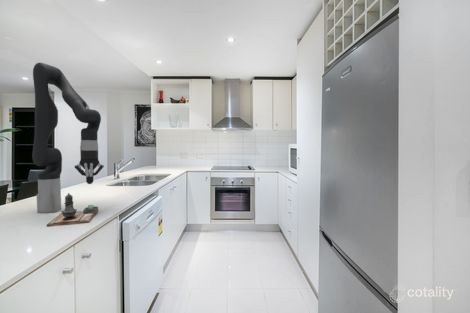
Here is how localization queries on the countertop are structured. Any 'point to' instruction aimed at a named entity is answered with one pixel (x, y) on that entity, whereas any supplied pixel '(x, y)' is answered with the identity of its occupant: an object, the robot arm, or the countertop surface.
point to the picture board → (80, 216)
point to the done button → (90, 206)
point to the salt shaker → (69, 208)
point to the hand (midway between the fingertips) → (89, 183)
